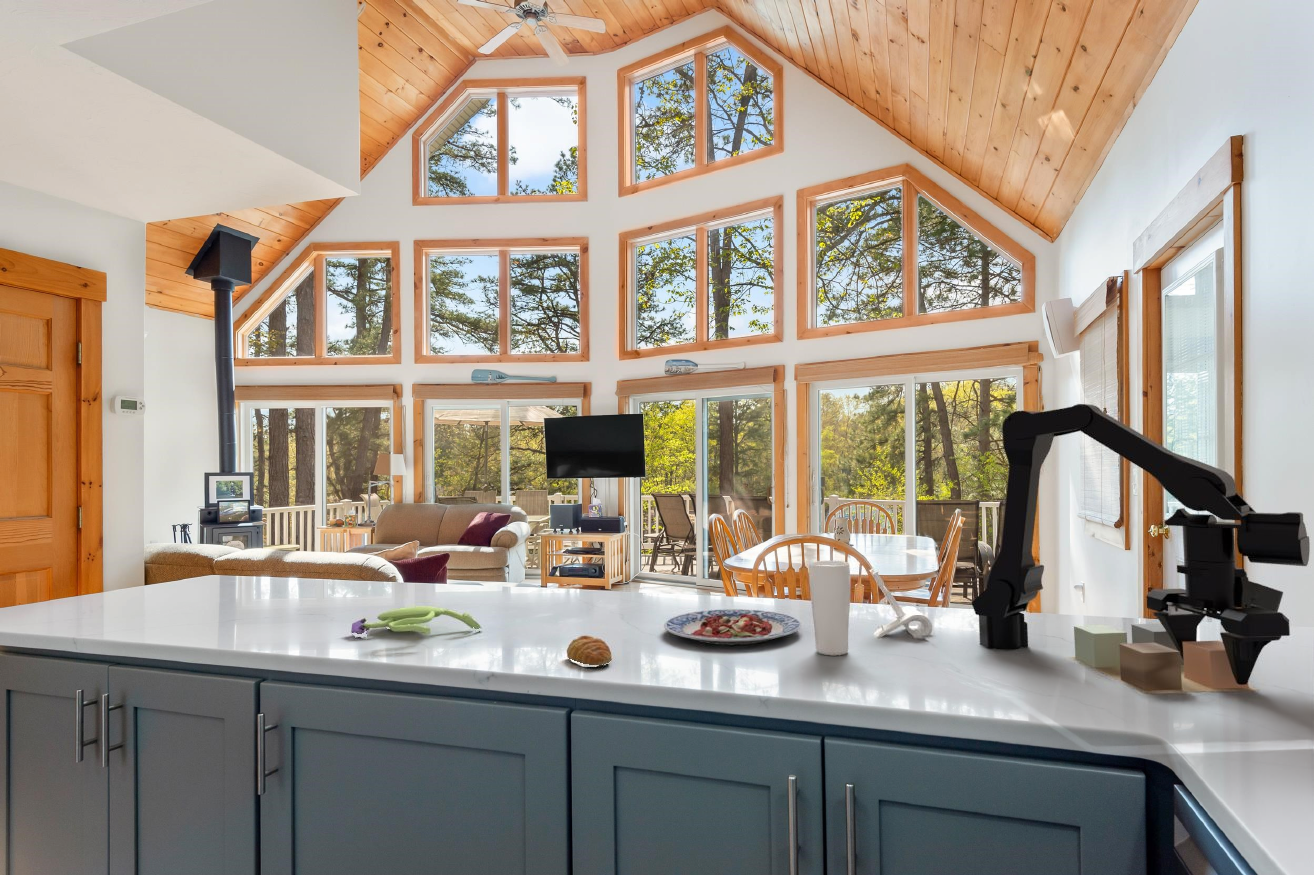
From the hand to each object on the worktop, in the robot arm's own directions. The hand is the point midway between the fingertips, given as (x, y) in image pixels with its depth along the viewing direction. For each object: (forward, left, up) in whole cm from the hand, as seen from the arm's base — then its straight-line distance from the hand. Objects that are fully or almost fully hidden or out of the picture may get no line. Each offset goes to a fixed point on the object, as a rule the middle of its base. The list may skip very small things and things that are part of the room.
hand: (1214, 674), depth 102 cm
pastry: (-87, +24, -2) cm, 90 cm away
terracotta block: (0, 0, -1) cm, 1 cm away
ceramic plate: (-62, +41, -2) cm, 74 cm away
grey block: (0, +11, -1) cm, 11 cm away
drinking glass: (-47, +25, -2) cm, 53 cm away
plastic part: (-31, +37, -2) cm, 48 cm away
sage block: (-9, +11, -1) cm, 14 cm away
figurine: (-124, +48, -2) cm, 132 cm away
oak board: (-5, +6, -2) cm, 7 cm away
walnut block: (-9, 0, -1) cm, 9 cm away
